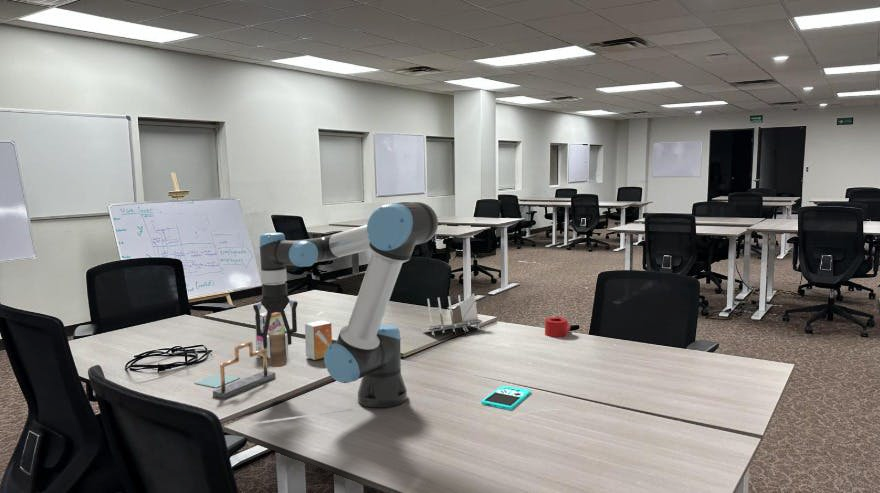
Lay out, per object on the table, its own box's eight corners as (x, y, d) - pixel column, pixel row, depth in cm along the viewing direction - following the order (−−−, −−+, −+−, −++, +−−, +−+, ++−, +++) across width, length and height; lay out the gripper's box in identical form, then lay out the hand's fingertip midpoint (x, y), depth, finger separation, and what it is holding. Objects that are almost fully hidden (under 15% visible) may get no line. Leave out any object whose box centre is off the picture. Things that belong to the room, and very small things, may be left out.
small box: (314, 360, 220) (313, 326, 218) (305, 357, 224) (304, 323, 223) (332, 355, 225) (331, 322, 224) (323, 352, 230) (322, 319, 228)
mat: (239, 378, 201) (239, 377, 201) (216, 388, 192) (216, 387, 192) (218, 374, 205) (218, 373, 205) (194, 383, 196) (194, 382, 196)
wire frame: (275, 378, 201) (273, 336, 199) (224, 399, 182) (221, 354, 180) (264, 376, 204) (262, 335, 202) (213, 397, 184) (210, 351, 183)
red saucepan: (562, 339, 246) (562, 323, 245) (541, 336, 251) (541, 320, 250) (577, 329, 261) (578, 315, 260) (557, 326, 266) (558, 312, 265)
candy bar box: (265, 358, 223) (263, 316, 221) (256, 356, 225) (254, 314, 223) (287, 351, 232) (285, 310, 230) (277, 349, 235) (276, 308, 233)
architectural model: (491, 328, 255) (484, 286, 257) (440, 336, 243) (433, 292, 246) (471, 330, 270) (465, 291, 273) (422, 338, 258) (416, 296, 261)
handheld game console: (531, 393, 185) (531, 389, 185) (511, 411, 172) (511, 407, 172) (502, 388, 190) (502, 384, 190) (480, 405, 177) (480, 400, 177)
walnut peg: (287, 366, 184) (285, 334, 183) (270, 367, 182) (269, 336, 181) (286, 361, 188) (284, 331, 187) (269, 363, 187) (268, 332, 186)
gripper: (302, 278, 189) (305, 349, 191) (244, 282, 183) (248, 355, 186) (304, 282, 182) (308, 355, 184) (244, 286, 176) (248, 362, 179)
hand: (278, 355), depth 185 cm, fingers closed on walnut peg, 5 cm apart
